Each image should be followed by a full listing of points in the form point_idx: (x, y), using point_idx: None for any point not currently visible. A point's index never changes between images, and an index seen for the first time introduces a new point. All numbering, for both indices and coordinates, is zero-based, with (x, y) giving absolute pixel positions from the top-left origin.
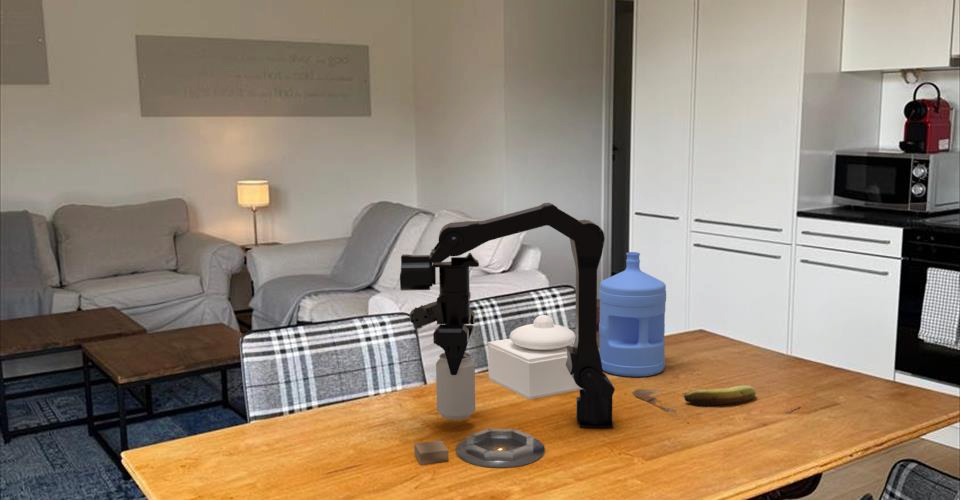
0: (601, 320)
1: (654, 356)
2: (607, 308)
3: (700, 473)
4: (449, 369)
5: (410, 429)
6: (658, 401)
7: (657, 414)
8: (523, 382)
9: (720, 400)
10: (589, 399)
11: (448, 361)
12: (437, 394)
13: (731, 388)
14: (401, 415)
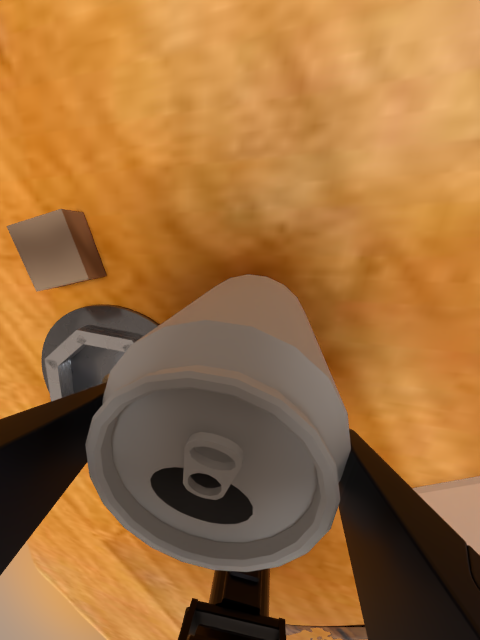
0: None
1: None
2: None
3: (73, 567)
4: (81, 391)
5: (243, 193)
6: (333, 636)
7: (272, 612)
8: (464, 522)
9: None
10: (214, 595)
11: (3, 424)
12: (222, 286)
13: None
14: (374, 153)
